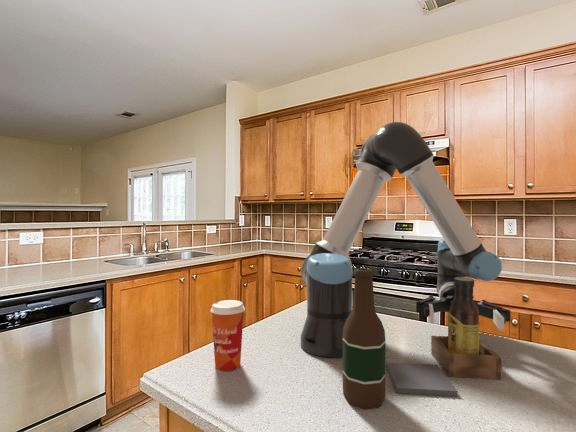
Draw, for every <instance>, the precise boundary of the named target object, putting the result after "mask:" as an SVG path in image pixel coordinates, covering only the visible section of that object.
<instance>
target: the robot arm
mask: <svg viewBox="0 0 576 432" xmlns="http://www.w3.org/2000/svg"><path fill="white" fill-rule="evenodd" d="M434 157H435V155H434V153H433V151H432V150H431V148H430V146H429V145H428V143H427V142H426V140H425V139H424V138H423V136H422V135H421V134H420V133H419V132H418V131H417V130H416V129H415V128H414V127H413V126H411V125H410V124H408V123H405V122H401V121H392V122H388V123H386V124H384V125H383V126H381V128H379V130H377V131H376V132H374V133H373V134H371V135H370V136H369V137H367V138H366V139H365V141H364V143H363V144H362V146H361V149H360V154H359V157H358V159H357V161H356V163H355V166H356V169H357V172H356V174H355V176H354V178H353V180H352V182H351V184H350V185H349V187H348V190H347V192H346V194H345V196H344V197H343V200H342V202H341V203H340V206H339V208H338V210H337V211H336V213H335V214H334V215H335V216H334V218H333V219H332V222H331V223H330V226H328V229H327V231H326V233H325V235H324V237H323V239H321V240H320V241H316V242H315V243H314V245H313V247H312V249H311V252H310V253H309V255H307V257H306V258H305V259H304V261H303V262H302V265H301V269H300V271H301V279H302V281H303V283H304V285H305V286H306V289H307V290H306V293H307V294H306V295H307V297H306V298H307V300H306V301H307V303H306V304H307V305H306V306H307V307H306V308H307V309H306V310H307V311H306V318H305V322H304V325H303V327H302V331H301V334H300V347H301V349H302V350H303V351H305V352H307V353H308V354H311V355H313V356H317V357H322V358H343V327H344V325H345V322H346V319H347V318H348V317H349V315H350V314H351V312H352V308H353V276H354V275H353V273H354V270H353V264H352V261H351V258H350V254H349V253H350V251H351V248H352V247H353V245H354V242H355V240H356V238H357V237H358V235H359V233H360V231H361V229H362V227H363V224H364V223H365V221H366V219H367V217H368V215H369V213H370V211H371V208H372V207H373V205H374V203H375V201H376V199H377V197H378V196H379V193H380V191H381V189H382V187H383V185H384V183H387V182H390V181H392V178H393V177H394V175H395V173H396V170H397V172H398V174H399V175H400V176H404V177H406V180H407V181H408V182H409V184H410V186H411V188H412V189H413V191H414V192H415V194H416V196H417V198H418V199H419V200H420V202H421V204H422V205H423V207H424V208H425V210H426V212H427V214H428V215H429V217H430V218H431V220H432V222H433V223H434V225H435V226H436V228H437V230H438V232H439V234H440V235H441V237H442V238H443V239H441V240H439V241H438V242H437V250H436V253H437V284H436V293H437V295H438V296H439V299H437V298H436V297H435V296H434V295H428V297H426V298H422V299H420V300H417V301H416V302H415V311H416V313H422V312H423V317H424V318H429V323H430V324H434V323H435V314H436V313H439V312H443V313H448V311H449V308H450V306H451V303H452V301H453V298H454V294H455V285H454V278H456V277H467V278H472V279H474V280H476V281H477V280H478V281H484V282H490V281H493V280H496V279H497V278H498V277H499V276H500V275H501V272H502V269H503V265H502V261H501V258H500V257H499V256H498V255H496V254H495V253H493V252H491V251H487V250H486V248H485V247H484V245H483V243H482V242H481V240H480V239H479V237H478V235H477V233H476V232H475V230H474V228H473V226H472V225H471V223H470V222H469V220H468V218H467V217H466V215H465V214H464V212H463V210H462V208H461V207H460V205H459V203H458V202H457V200H456V198H455V197H454V195H453V193H452V192H451V190H450V188H449V187H448V185H447V183H446V181H445V180H444V178H443V177H442V174H441V173H440V171H439V169H438V168H437V167H436V165H435V163H434V161H433V160H434ZM473 300H474V299H473ZM474 302H475V304H476V305H477V307H478V309H479V317H480V316H481V317H483V318H487V319H490V320H492V322H493V324H494V325H495V326H496V327H497V329H498V330H499V331H500V332H505V325H506V324H507V322H508V323H510V322H511V313H512V312H511V310H510V309H507V308H505V307H503V306H499V305H497V304H495V303H491V302H489V301H487V300H486V299H482V300H480V302H478V301H477V300H474ZM434 313H435V314H434Z"/></svg>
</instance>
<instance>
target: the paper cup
mask: <svg viewBox="0 0 576 432" xmlns="http://www.w3.org/2000/svg"><path fill="white" fill-rule="evenodd" d="M245 311H246V308H245V306H244V304H243V302H242V301H241V300H235V299H234V300H233V299H226V300H219V301H217V302H214V303H212V305H211V308H210V313H211V318H212V319H211V321H212V322H211V323H212V336H213V337H212V338H213V352H214V353H213V355H214V367H215V369H216V370H217V371H221V372H232V371H236V370H237V369H239V368H240V366H241V361H242V359H241V358H242V343H243V326H244V325H243V324H244V312H245Z"/></svg>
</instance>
